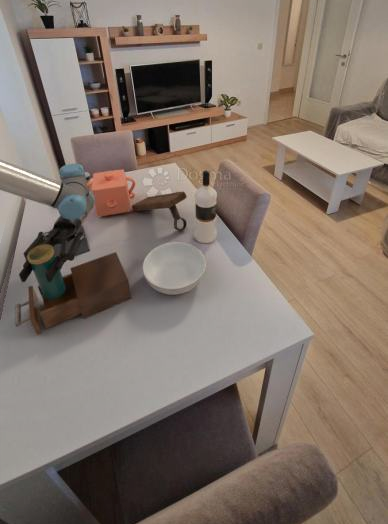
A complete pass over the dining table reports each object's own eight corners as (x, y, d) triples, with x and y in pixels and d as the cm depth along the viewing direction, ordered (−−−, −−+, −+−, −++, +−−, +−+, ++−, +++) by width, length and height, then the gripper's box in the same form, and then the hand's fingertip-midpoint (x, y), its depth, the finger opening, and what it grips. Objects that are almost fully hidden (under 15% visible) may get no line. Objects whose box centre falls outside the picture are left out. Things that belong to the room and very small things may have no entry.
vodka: (194, 229, 117) (193, 165, 102) (215, 229, 117) (218, 165, 102) (193, 244, 109) (193, 177, 94) (217, 244, 109) (220, 177, 94)
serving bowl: (165, 248, 107) (164, 235, 103) (215, 267, 98) (215, 253, 95) (131, 288, 91) (129, 273, 88) (187, 314, 82) (186, 299, 79)
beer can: (82, 194, 142) (77, 174, 136) (90, 191, 145) (85, 170, 139) (88, 197, 139) (83, 176, 133) (95, 193, 143) (91, 173, 137)
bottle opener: (143, 235, 131) (181, 236, 108) (130, 205, 129) (166, 200, 106) (159, 224, 138) (198, 224, 115) (147, 196, 135) (185, 190, 112)
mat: (40, 234, 115) (40, 233, 115) (80, 223, 121) (80, 222, 121) (44, 266, 100) (43, 265, 99) (89, 250, 106) (89, 249, 106)
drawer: (19, 342, 75) (11, 327, 71) (19, 307, 84) (11, 292, 81) (87, 313, 82) (82, 298, 79) (80, 284, 91) (75, 269, 88)
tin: (42, 287, 81) (26, 249, 74) (64, 279, 84) (52, 241, 76) (43, 303, 77) (27, 264, 69) (67, 294, 79) (54, 255, 72)
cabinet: (83, 319, 81) (77, 300, 77) (76, 286, 92) (70, 268, 87) (131, 298, 88) (128, 279, 83) (119, 269, 98) (115, 251, 94)
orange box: (141, 222, 121) (137, 187, 112) (87, 231, 116) (78, 196, 107) (136, 193, 142) (132, 162, 133) (90, 200, 137) (82, 168, 128)
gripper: (101, 231, 92) (75, 288, 72) (44, 231, 92) (2, 288, 72) (97, 213, 88) (68, 267, 68) (37, 213, 88) (-8, 268, 68)
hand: (35, 278), depth 70 cm, fingers closed on tin, 6 cm apart
